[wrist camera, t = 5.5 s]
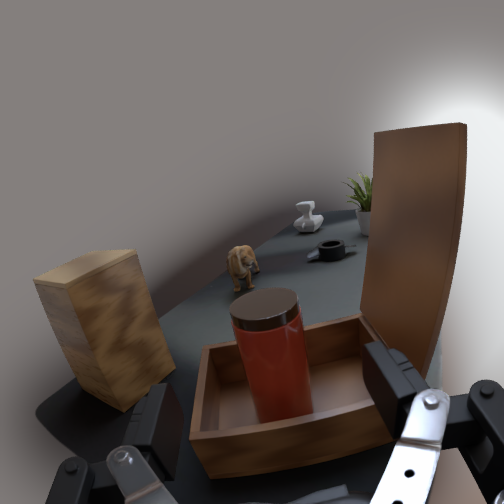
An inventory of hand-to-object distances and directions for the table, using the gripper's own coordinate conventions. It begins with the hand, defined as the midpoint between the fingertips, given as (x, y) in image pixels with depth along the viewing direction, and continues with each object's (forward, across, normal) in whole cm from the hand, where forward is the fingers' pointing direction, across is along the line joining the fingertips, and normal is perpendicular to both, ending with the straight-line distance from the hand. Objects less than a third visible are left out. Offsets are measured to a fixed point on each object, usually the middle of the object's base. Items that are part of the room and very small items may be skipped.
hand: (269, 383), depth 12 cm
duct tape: (+55, +16, -15) cm, 59 cm away
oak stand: (+23, -20, -15) cm, 34 cm away
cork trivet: (+23, -20, +1) cm, 30 cm away
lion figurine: (+50, -2, -15) cm, 52 cm away
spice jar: (+13, 0, -14) cm, 19 cm away
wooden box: (+13, +2, -15) cm, 20 cm away
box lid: (+13, +12, 0) cm, 17 cm away
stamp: (+80, +17, -15) cm, 83 cm away
